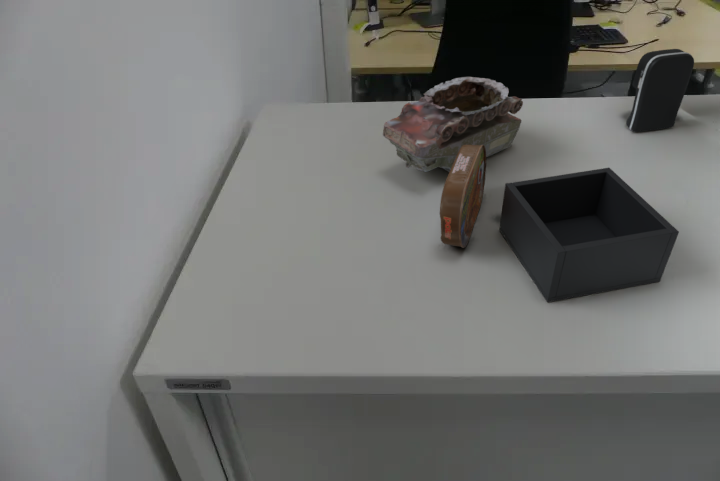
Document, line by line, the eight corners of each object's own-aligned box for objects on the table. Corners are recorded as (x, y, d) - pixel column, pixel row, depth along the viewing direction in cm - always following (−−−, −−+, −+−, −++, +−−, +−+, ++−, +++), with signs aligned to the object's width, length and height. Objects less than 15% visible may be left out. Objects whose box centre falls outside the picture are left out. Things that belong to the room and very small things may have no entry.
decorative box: (544, 163, 78) (556, 97, 72) (427, 210, 71) (429, 141, 65) (482, 127, 87) (488, 67, 81) (373, 165, 80) (370, 102, 74)
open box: (596, 213, 68) (609, 167, 64) (660, 281, 59) (679, 231, 55) (499, 230, 67) (505, 183, 63) (547, 302, 57) (558, 252, 53)
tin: (461, 262, 62) (466, 200, 57) (433, 257, 63) (436, 195, 58) (486, 191, 73) (492, 133, 68) (462, 187, 74) (466, 130, 69)
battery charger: (660, 117, 87) (683, 44, 80) (675, 128, 84) (700, 53, 77) (618, 122, 86) (637, 49, 79) (631, 134, 83) (652, 58, 76)
